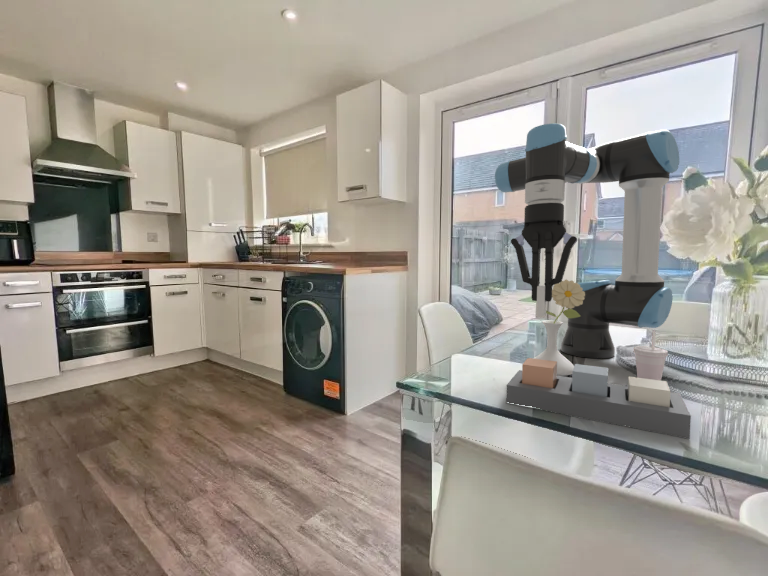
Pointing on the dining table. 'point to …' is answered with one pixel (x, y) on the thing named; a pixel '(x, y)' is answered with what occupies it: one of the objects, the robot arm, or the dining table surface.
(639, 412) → the console
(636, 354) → the smoothie
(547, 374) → the key terracotta
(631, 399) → the key cream
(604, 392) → the key slate
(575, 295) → the flower in vase
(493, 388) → the dining table surface
